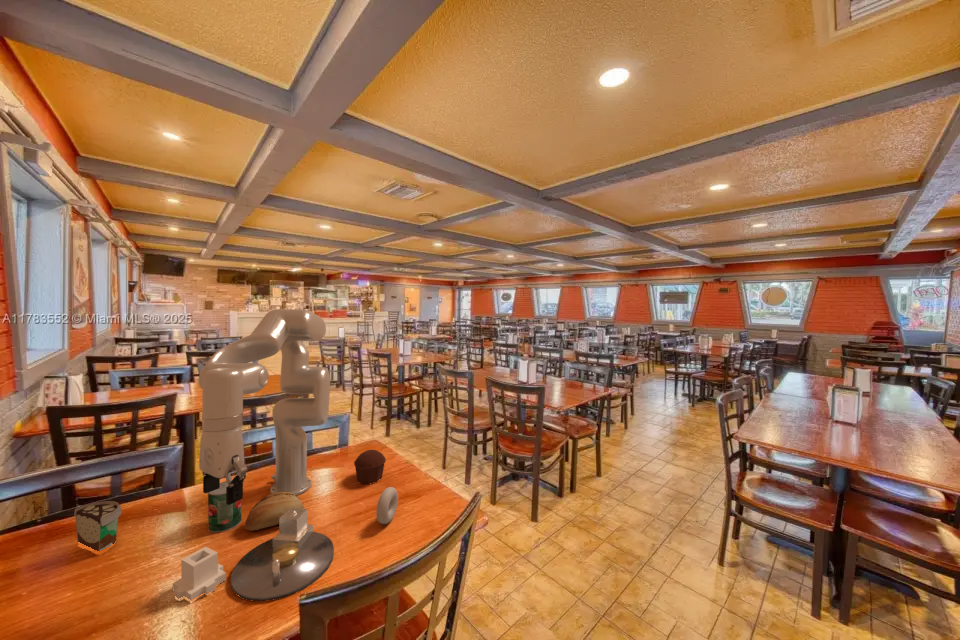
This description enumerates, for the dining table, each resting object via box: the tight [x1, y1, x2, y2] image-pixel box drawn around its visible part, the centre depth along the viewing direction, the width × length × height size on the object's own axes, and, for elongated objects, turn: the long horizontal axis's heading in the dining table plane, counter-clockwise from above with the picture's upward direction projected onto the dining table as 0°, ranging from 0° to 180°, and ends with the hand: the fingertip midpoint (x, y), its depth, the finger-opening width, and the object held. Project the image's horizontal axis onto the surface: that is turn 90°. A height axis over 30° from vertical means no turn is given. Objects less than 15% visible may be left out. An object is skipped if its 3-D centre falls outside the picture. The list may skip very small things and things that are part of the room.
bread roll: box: [244, 492, 305, 532], centre depth 103 cm, size 10×15×8 cm, turn 127°
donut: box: [375, 486, 399, 525], centre depth 105 cm, size 10×4×10 cm, turn 168°
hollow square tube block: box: [172, 546, 227, 600], centre depth 80 cm, size 9×9×7 cm
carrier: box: [230, 508, 335, 602], centre depth 87 cm, size 22×22×9 cm
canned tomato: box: [207, 480, 243, 534], centre depth 102 cm, size 8×8×11 cm
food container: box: [73, 500, 123, 552], centre depth 93 cm, size 12×6×10 cm, turn 71°
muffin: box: [353, 449, 387, 485], centre depth 131 cm, size 12×11×10 cm
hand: (222, 496), depth 81 cm, fingers open, 9 cm apart
